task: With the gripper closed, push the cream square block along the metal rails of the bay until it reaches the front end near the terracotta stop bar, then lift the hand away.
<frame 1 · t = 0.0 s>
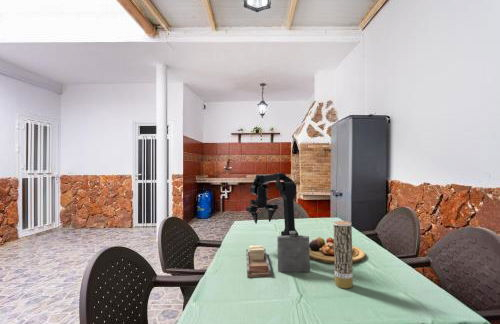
hand: (262, 222, 160), 15 cm above the table, tool pointing down, fingers open, 9 cm apart
cream square block: (256, 252, 140), point 4 cm above the table, slide at 0.0 cm
bay: (257, 264, 134), on the table
paper tube: (343, 285, 109), on the table
flask: (293, 271, 125), on the table
wooden plate with food: (333, 255, 146), on the table
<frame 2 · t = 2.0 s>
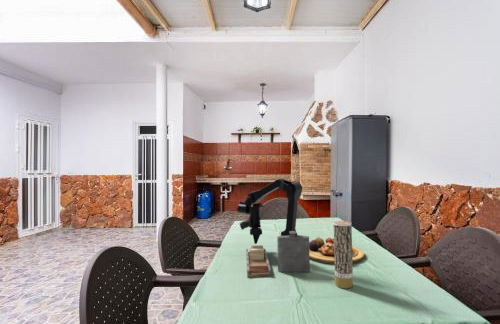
hand: (255, 243, 149), 6 cm above the table, tool pointing down, fingers closed
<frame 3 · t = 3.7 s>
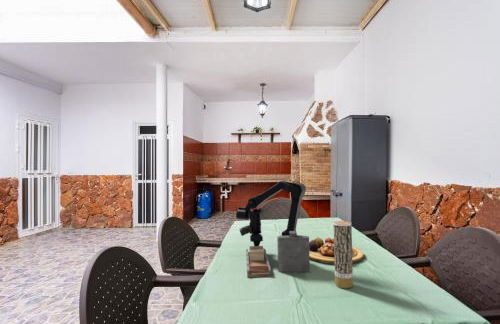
hand: (256, 250, 144), 3 cm above the table, tool pointing down, fingers closed
cream square block: (256, 253, 139), point 4 cm above the table, slide at 0.8 cm, touching gripper
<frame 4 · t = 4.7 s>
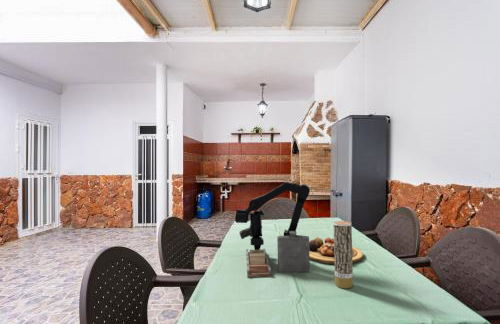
hand: (256, 253, 139), 3 cm above the table, tool pointing down, fingers closed
cream square block: (257, 256, 133), point 4 cm above the table, slide at 6.6 cm, touching gripper
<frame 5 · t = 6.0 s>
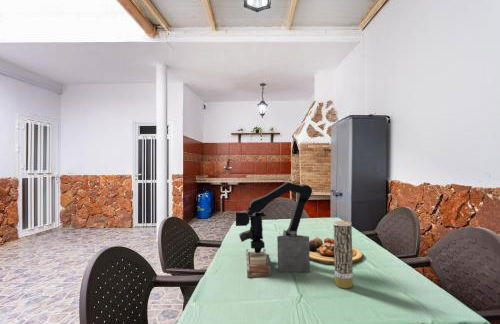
hand: (257, 257, 134), 3 cm above the table, tool pointing down, fingers closed
cream square block: (257, 260, 129), point 4 cm above the table, slide at 11.5 cm, touching gripper
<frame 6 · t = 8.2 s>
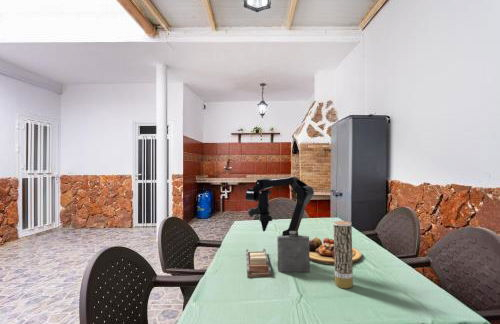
hand: (263, 231, 146), 13 cm above the table, tool pointing down, fingers closed
cream square block: (257, 260, 128), point 4 cm above the table, slide at 11.6 cm
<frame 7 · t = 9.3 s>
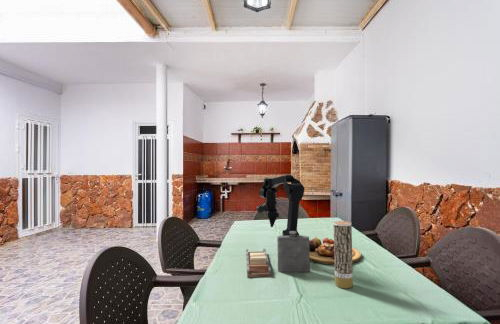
hand: (271, 227, 155), 13 cm above the table, tool pointing down, fingers closed
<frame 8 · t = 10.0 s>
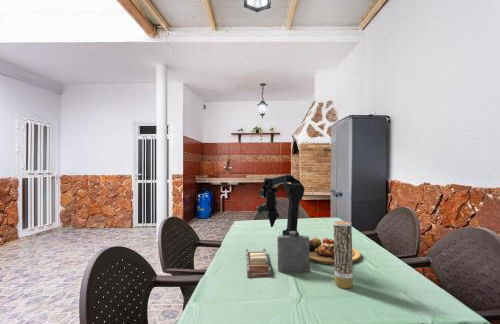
hand: (271, 227, 155), 13 cm above the table, tool pointing down, fingers closed
at the end: cream square block slide at 11.6 cm; the gripper is holding nothing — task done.
